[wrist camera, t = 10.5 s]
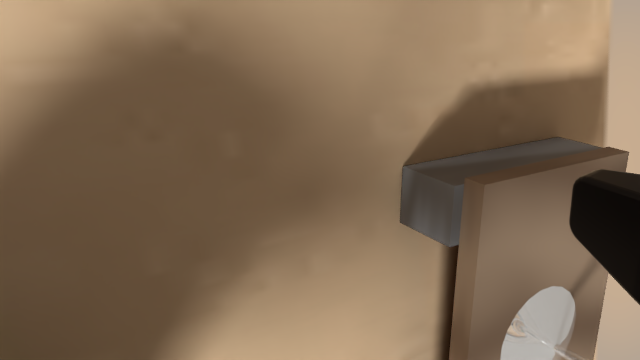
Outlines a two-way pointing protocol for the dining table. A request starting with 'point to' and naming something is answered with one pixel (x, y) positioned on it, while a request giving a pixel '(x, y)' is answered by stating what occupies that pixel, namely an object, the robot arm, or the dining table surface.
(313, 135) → the dining table surface
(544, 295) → the wineglass
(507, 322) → the plank bridge
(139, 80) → the dining table surface
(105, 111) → the dining table surface
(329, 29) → the dining table surface
